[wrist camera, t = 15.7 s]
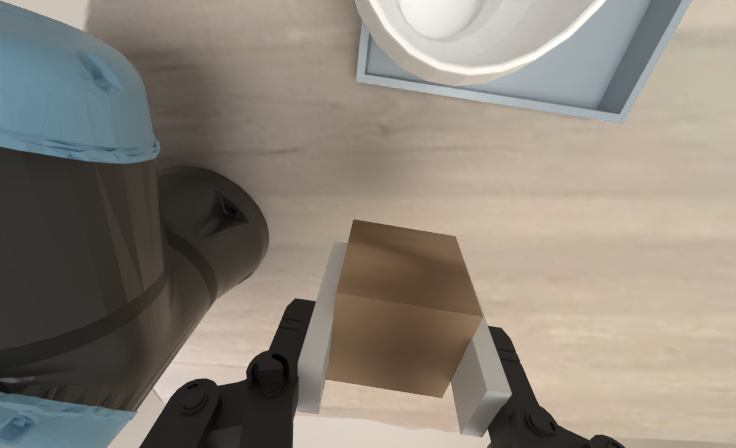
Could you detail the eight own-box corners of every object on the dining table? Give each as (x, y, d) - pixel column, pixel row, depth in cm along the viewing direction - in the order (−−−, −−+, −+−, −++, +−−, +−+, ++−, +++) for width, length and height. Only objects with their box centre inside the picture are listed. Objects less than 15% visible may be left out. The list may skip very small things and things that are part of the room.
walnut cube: (342, 294, 17) (324, 379, 12) (353, 219, 14) (335, 292, 10) (429, 308, 17) (441, 397, 12) (455, 236, 14) (483, 316, 10)
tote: (360, 78, 26) (355, 81, 23) (384, -144, 19) (382, -181, 16) (595, 115, 26) (622, 123, 23) (702, -93, 19) (759, -121, 16)
